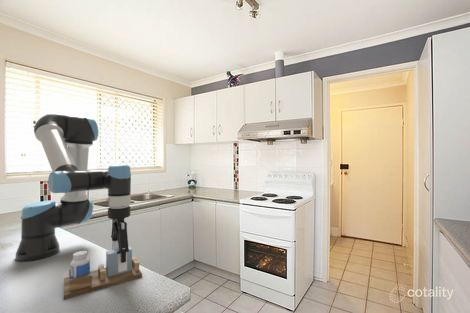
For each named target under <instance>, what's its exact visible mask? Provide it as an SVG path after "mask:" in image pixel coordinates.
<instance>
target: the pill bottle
mask: <svg viewBox="0 0 470 313" xmlns="http://www.w3.org/2000/svg"><path fill="white" fill-rule="evenodd" d="M90 260H91V259H90V258H89V257H88V251H87V250H79V251H77V252H74V253H73V254H72V260H71V261H70V269H71V279H72V278H76V277H80V276H84V275H88V274H90V272H91V266H90V265H91V264H90V263H91V262H90Z"/></svg>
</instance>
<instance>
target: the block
mask: <svg viewBox="0 0 470 313" xmlns="http://www.w3.org/2000/svg"><path fill="white" fill-rule="evenodd" d="M128 248H129V252H127V270H126V271H122V272H118V254H117V252H118V251H119V248H118V249H113V250H112V249H108V250H106V252H105V253H106V255H105V257H106V259H105V262H106V263H105V268H106V274H107V276H108V277H110V276H114V275H118V274H121V273H125V272H129V271H132V257H133V248H132V246H130V245H128ZM123 249H125V248H123Z"/></svg>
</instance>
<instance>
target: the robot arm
mask: <svg viewBox="0 0 470 313" xmlns="http://www.w3.org/2000/svg"><path fill="white" fill-rule="evenodd" d="M33 128H34V129H33V132H34V136H35V138H36V139H37V141H39V142H40V143H41V145H42V149H43V151H44V154H45V156H46V158H47V160H48V164H49V166H50V169H51V172H50V173H49V175H48V180H47V182H48V189H49V191H50V192H51V193H53V194H63V195H62V196H61V197H60V201H59V202H56V201H55V200H54V199H53V200H52V199H51V200H50V199H49V200H43V201H37V202H34V203H29V204H27V205H25V206H24V207H23V208H22V210H21V216H20V218H21V224H20V226H21V229H20V230H21V233H20V234H21V235H20V236H21V237H20V238H21V239H20V242H19V245H18V247H17V249H16V252H15V260H16V261H18V262H29V261H30V262H31V261H36V260H41V259H44V258H48V257H51V256H53V255H55V254H57V253H58V252H60V243H59V241H58V238H57V237H56V229H57V228H63V227H68V226H73V225H80V224H83V223H86V222H88V221H89V220H90V219H91V217H92V216H93V210H94V206H93V205H94V204H93V201H92V199H90V197H89V195H87V192H86V191H95V190H107V198H106V199H105V200H106V202H107V206H108V208H107V218H108V219H110V220H112V223H111V224H112V225H111V235H110V238H111V250H113V249H118V248H119V251H118V252H117V254H118V272H122V271H126V270H127V252H129V248H128V246H129V238H128V223H127V222H126V221H125V219H126V218H129V217H131V206H130V205H131V204H132V203H131V200H132V199H131V196H132V195H131V184H132V174H131V173H132V172H131V166H130V165H126V164H116V165H114V164H113V165H109V166H108V169H104V168H103V169H95V170H94V169H93V170H91V169H90V170H88V165H89V164H88V163H89V150H90V148H91V147H92V146H93V145H94V144H93V143H94V142H95V141H97V139H98V137H99V127H98V124H97V122H96V120H95V119H94V118H93V117H90V116H89V117H88V116H86V115H76V114H67V113H61V112H60V113H59V112H51V113H48V114H45V115H43V116H42V117H40V118H39V119H38V120H37V121H36V122H35V124H34V127H33ZM123 248H125V249H123Z"/></svg>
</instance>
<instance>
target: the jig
mask: <svg viewBox="0 0 470 313" xmlns="http://www.w3.org/2000/svg"><path fill="white" fill-rule="evenodd" d="M97 268H98V269H96V270H95V269H94V270H90V274H88V275H84V276H80V277H76V278H72V279H71V268H70V269H69V270H68V276H66V277H64V278H63V300H66V299H70V298H74V297H76V296H80V295H84V294H87V293H91V292H94V291H97V290H101V289H105V288H108V287H111V286H114V285H115V286H116V285H118V284H123V283H125V282H129V281H132V280H133V281H134V280H136V279H139V278H142V277H143V273H142V271H141V270H140V261H139V259H138V258H137V257H136V256H132V271H129V272H125V273H121V274H118V275H114V276H110V277H108V276H107V274H106V267H105V265H104V263H103V264H98V267H97Z"/></svg>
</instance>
